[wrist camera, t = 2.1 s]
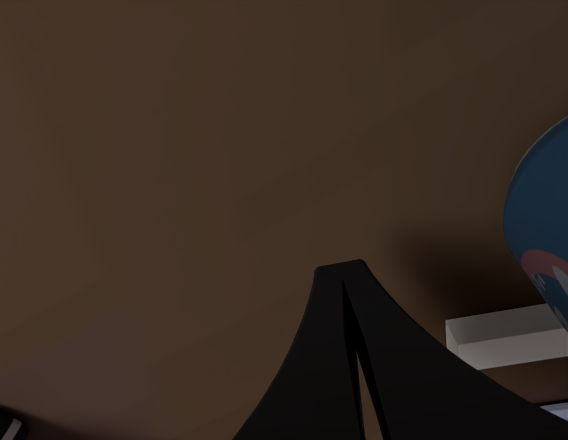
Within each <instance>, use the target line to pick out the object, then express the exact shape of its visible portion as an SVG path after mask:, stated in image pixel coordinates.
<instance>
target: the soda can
mask: <svg viewBox="0 0 568 440" xmlns="http://www.w3.org/2000/svg"><path fill="white" fill-rule="evenodd" d="M503 225H504V234H505V239H506V242H507V245H508V247H509V249H510V251H511V253H512V254H513V256H514V257H515V259H516V260H517V261H518V263H519V264H520V266H521V267H522V269H523V270H524V271H525V273H526V274H527V276H528V277H529V278H530V280H531V281H532V283H533V284H534V286H535V287H536V288H537V290H538V291H539V293H540V294H541V295H542V297H543V298H544V300H545V301H546V303H547V304H548V305H549V307H550V308H551V310H552V311H553V313H554V314H555V315H556V317H557V318H558V320H559V321H560V322H561V324H562V325H563V327H564V328H565V330H566V331H567V332H568V116H567V117H565V118H563V119H562V120H560V121H559V122H557V123H556V124H555V125H553V126H552V127H551V128H549V129H548V130H547V131H546V132H545V133H543V134H542V135H541V136H540V137H539V138H538V139H537V140H536V141H535V142H534V143H533V144H532V146H531V147H530V148H529V149H528V150H527V152H526V153H525V154H524V156H523V157H522V159H521V160H520V162H519V164H518V165H517V167H516V169H515V171H514V174H513V176H512V179H511V182H510V186H509V190H508V194H507V198H506V202H505V208H504V219H503Z"/></svg>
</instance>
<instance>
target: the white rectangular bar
mask: <svg viewBox="0 0 568 440" xmlns="http://www.w3.org/2000/svg"><path fill="white" fill-rule="evenodd" d="M445 323H446V344H447V349H449V350H450V351H451V352H453V353H454V354H455V355H457V356H458V357H459V358H461V359H462V360H463V361H465V362H466V363H468V364H469V365H471V366H472V367H474V368H475V369H477V370H480V369H487V368H493V367H500V366H506V365H513V364H519V363H526V362H533V361H539V360H546V359H552V358H559V357H565V356H568V332H567V331H566V330H565V328H564V327H563V325H562V324H561V322H560V321H559V320H558V318H557V317H556V315H555V314H554V313H553V311H552V310H551V308H550V307H549V305H548V304H547V303H546V304H540V305H534V306H528V307H522V308H516V309H510V310H504V311H498V312H492V313H486V314H480V315H474V316H468V317H462V318H456V319H450V320H445Z"/></svg>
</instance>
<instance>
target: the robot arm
mask: <svg viewBox="0 0 568 440" xmlns="http://www.w3.org/2000/svg"><path fill="white" fill-rule="evenodd" d="M356 351H357V353H356ZM357 354H358V358H359V361H360V364H361V367H362V370H363V374H364V377H365V380H366V383H367V386H368V390H369V393H370V396H371V399H372V403H373V406H374V409H375V412H376V415H377V419H378V422H379V425H380V429H381V433H382V437H383V440H568V402H567V403H560V404H553V405H546V406H537V405H535V404H533V403H531V402H529V401H527V400H525V399H524V398H522V397H520V396H518V395H517V394H515V393H513V392H512V391H510V390H508V389H506V388H505V387H503V386H501V385H500V384H498V383H497V382H495V381H494V380H492V379H491V378H489V377H487V376H486V375H484V374H483V373H481V372H480V371H478V370H477V369H475V368H474V367H472V366H471V365H469V364H468V363H466V362H465V361H463V360H462V359H461V358H459V357H458V356H457V355H455V354H454V353H453V352H451V351H450V350H449V349H447V348H446V347H445V346H443V345H442V344H441V343H440V342H438V341H437V340H436V339H435V338H434V337H432V336H431V335H430V334H429V333H428V332H426V331H425V330H424V329H423V328H422V327H421V326H420V325H419V324H418V323H417V322H416V321H414V320H413V319H412V318H411V317H410V316H409V315H408V314H407V313H406V312H405V311H404V310H403V309H402V308H401V307H400V306H399V305H398V304H397V302H396V301H395V300H394V299H393V298H392V297H391V296H390V295H389V294H388V293H387V291H386V290H385V289H384V288H383V287H382V285H381V284H380V283H379V282H378V280H377V279H376V278H375V276H374V275H373V274H372V272H371V271H370V269H369V268H368V266H367V265H366V263H365V261H363V260H361V259H358V260H353V261H347V262H342V263H337V264H331V265H326V266H320V267H317V268H316V270H315V271H314V279H313V285H312V289H311V293H310V297H309V300H308V303H307V306H306V310H305V313H304V316H303V319H302V321H301V324H300V326H299V329H298V331H297V334H296V336H295V338H294V341H293V343H292V345H291V348H290V350H289V352H288V354H287V356H286V358H285V360H284V362H283V364H282V366H281V367H280V369H279V371H278V373H277V375H276V376H275V378H274V380H273V381H272V383H271V385H270V386H269V388H268V390H267V391H266V393H265V395H264V396H263V398H262V399H261V401H260V402H259V404H258V405H257V407H256V408H255V409H254V411H253V412H252V414H251V415H250V416H249V418H248V419H247V420H246V422H245V423H244V424H243V426H242V427H241V429H240V430H239V431H238V433H237V434H236V435H235V436H234V438H233V439H232V440H366V438H365V431H364V423H363V413H362V403H361V393H360V383H359V373H358V363H357Z"/></svg>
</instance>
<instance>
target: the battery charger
mask: <svg viewBox="0 0 568 440" xmlns="http://www.w3.org/2000/svg"><path fill="white" fill-rule="evenodd" d="M21 424H22V422H20V421H19V420H17V419H15V418H14V419H10V418H9V417H7V416H5V415H3V414H2V413H0V440H26V439H27V437H28V435H29V430H28V428H26V427H25V426H23V425H21Z"/></svg>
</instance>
